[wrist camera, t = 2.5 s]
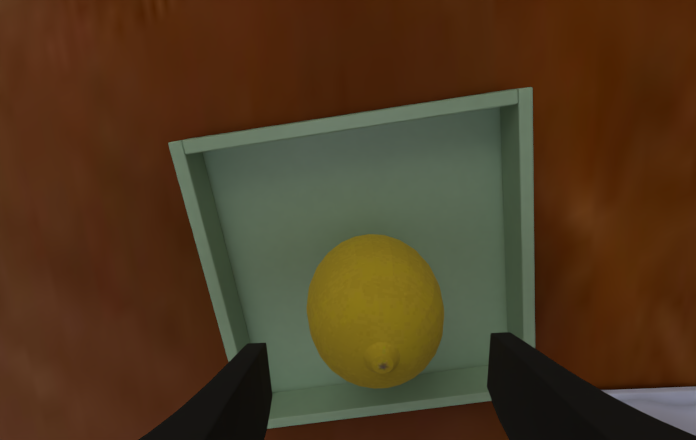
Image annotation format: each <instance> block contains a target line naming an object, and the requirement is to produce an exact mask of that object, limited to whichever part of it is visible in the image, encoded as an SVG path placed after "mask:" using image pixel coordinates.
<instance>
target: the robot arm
mask: <svg viewBox="0 0 696 440" xmlns="http://www.w3.org/2000/svg"><path fill="white" fill-rule="evenodd" d="M487 389H488V391H489V394H490V397H491V400H492V403H493V405H494V408H495V411H496V413H497V416H498V418H499V420H500V422H501V424H502V426H503V428H504V430H505V432H506V434H507V436H508V438H509V440H696V386H694V387H669V388H643V389H618V390H600V389H598V388H596V387H595V386H593V385H591V384H590V383H588V382H586V381H584V380H583V379H581V378H579V377H578V376H576V375H575V374H573V373H571V372H570V371H568V370H567V369H565V368H564V367H562V366H560V365H559V364H557V363H556V362H554V361H553V360H551V359H550V358H548V357H547V356H545V355H544V354H542V353H541V352H539V351H538V350H536V349H535V348H533V347H532V346H531V345H529V344H528V343H526V342H525V341H523V340H522V339H520V338H518V337H517V336H515V335H514V334H512V333H510V332H504V333H491V335H490V349H489V363H488V377H487ZM272 396H273V395H272V387H271V379H270V370H269V362H268V354H267V345H266V343H247V344H246V345H245V346H244V347H243V348H242V349H241V350H240V351H239V352H238V353H237V354H236V355H235V356H234V357H233V358H232V360H231V361H230V362H229V363H228V364H227V365H226V366H225V367H224V368H223V369H222V370H221V371H220V372H219V373H218V374H217V375H216V376H215V377H214V378H213V379H212V380H211V381H210V382H209V383H208V384H207V385H206V386H205V387H203V388H202V389H201V390H200V391H199V392H198V393H197V394H196V395H195V396H193V397H192V398H191V399H190V400H189V401H188V402H187V403H186V404H185V405H184V406H182V407H181V408H180V409H179V410H178V411H176V412H175V413H174V414H173V415H171V416H170V417H169V418H168V419H166V420H165V421H164V422H162V423H161V424H160V425H158V426H157V427H156V428H154V429H153V430H152V431H150V432H149V433H148V434H146V435H145V436H143V437H142V438H140V439H139V440H264V437H265V434H266V430H267V426H268V421H269V415H270V409H271V402H272Z"/></svg>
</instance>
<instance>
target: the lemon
mask: <svg viewBox="0 0 696 440" xmlns="http://www.w3.org/2000/svg"><path fill="white" fill-rule="evenodd" d="M307 317H308V323H309V329H310V334H311V337H312V340H313V342H314V344H315V346H316V348H317V351H318V353H319V355H320V357H321V358H322V359H323V361H324V362H325V363H326V364H327V365H328V367H329V368H330V369H331V370H332V371H333V372H334V373H336V374H337V375H339V376H340V377H342V378H343V379H344V380H346V381H348V382H350V383H353V384H355V385H358V386H361V387H367V388H373V389H378V388H390V387H393V386H397V385H401V384H403V383H405V382H407V381H409V380H411V379H413V378H415V377H416V376H417V375H418V374H419V373H420V372H422V371H423V370H424V369H425V368H426V366H427V365H428V364H429V362H430V361H431V360H432V358H433V357H434V356H435V354H436V352H437V349H438V347H439V344H440V341H441V338H442V334H443V324H444V306H443V301H442V295H441V290H440V286H439V284H438V281H437V279H436V277H435V275H434V274H433V272H432V270H431V268H430V266H429V264H428V263H427V262H426V261H425V260H424V259H423V258H422V257H421V256H420V254H419V253H418V252H417V251H416V250H415V249H413V248H412V247H410V246H409V245H407V244H405V243H404V242H402V241H401V240H398V239H395V238H392V237H389V236H386V235H378V234H366V235H361V236H355V237H353V238H350V239H348V240H346V241H343V242H341V243H340V244H339V245H337V246H336V247H335V248H333V249H332V250H331V251H329V252H328V253H327V255H326V256H325V257H324V259H323V260H322V261H321V262H320V264H319V265H318V267H317V269H316V271H315V273H314V276H313V278H312V280H311V283H310V286H309V291H308V299H307Z"/></svg>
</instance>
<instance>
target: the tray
mask: <svg viewBox="0 0 696 440" xmlns="http://www.w3.org/2000/svg"><path fill="white" fill-rule="evenodd" d="M168 145H169V148H170V152H171V156H172V159H173V163H174V167H175V170H176V174H177V177H178V181H179V185H180V188H181V192H182V195H183V199H184V203H185V206H186V210H187V214H188V217H189V221H190V224H191V228H192V232H193V235H194V239H195V243H196V246H197V250H198V253H199V257H200V261H201V264H202V268H203V271H204V275H205V279H206V282H207V286H208V290H209V293H210V297H211V300H212V304H213V308H214V311H215V315H216V318H217V322H218V326H219V329H220V333H221V337H222V340H223V344H224V347H225V351H226V355H227V358H228V362H230V361H231V360H232V358H233V357H234V356H235V355H236V354H237V353H238V352H239V351H240V350H241V349H242V348H243V347H244V346H245V345H246V344H247V343H266V345H267V354H268V362H269V370H270V379H271V387H272V395H273V396H272V402H271V409H270V415H269V421H268V426H267V429H269V428H277V427H285V426H293V425H301V424H309V423H317V422H325V421H333V420H341V419H349V418H357V417H365V416H373V415H381V414H389V413H397V412H405V411H413V410H421V409H429V408H437V407H445V406H453V405H461V404H469V403H477V402H485V401H492V400H491V397H490V394H489V391H488V389H487V377H488V363H489V349H490V335H491V333H504V332H510V333H512V334H514V335H515V336H517V337H518V338H520V339H522V340H523V341H525V342H526V343H528V344H529V345H531V346H532V347H533V348H535V281H534V184H533V89H532V87H526V88H518V89H510V90H503V91H496V92H490V93H483V94H477V95H470V96H464V97H457V98H451V99H444V100H438V101H431V102H425V103H418V104H412V105H405V106H398V107H392V108H385V109H379V110H372V111H366V112H359V113H353V114H346V115H340V116H333V117H327V118H320V119H314V120H307V121H301V122H294V123H288V124H281V125H275V126H268V127H262V128H255V129H249V130H242V131H235V132H229V133H222V134H216V135H209V136H203V137H196V138H190V139H185V140H179V141H174V142H169V143H168ZM366 234H378V235H386V236H389V237H392V238H395V239H398V240H401V241H402V242H404V243H405V244H407V245H409V246H410V247H412V248H413V249H415V250H416V251H417V252H418V253H419V254H420V256H421V257H422V258H423V259H424V260H425V261H426V262H427V263H428V264H429V266H430V268H431V270H432V272H433V274H434V275H435V277H436V279H437V281H438V284H439V286H440V290H441V295H442V301H443V306H444V324H443V334H442V338H441V341H440V344H439V347H438V349H437V352H436V354H435V356H434V357H433V358H432V360H431V361H430V362H429V364H428V365H427V366H426V368H425V369H424V370H423V371H422V372H420V373H419V374H418V375H417V376H416V377H415V378H413V379H411V380H409V381H407V382H405V383H403V384H401V385H397V386H393V387H390V388H378V389H373V388H367V387H361V386H358V385H355V384H353V383H350V382H348V381H346V380H344V379H343V378H342V377H340V376H339V375H337V374H336V373H334V372H333V371H332V370H331V369H330V368H329V367H328V365H327V364H326V363H325V362H324V361H323V359H322V358H321V357H320V355H319V353H318V351H317V348H316V346H315V344H314V342H313V340H312V337H311V334H310V329H309V323H308V317H307V299H308V291H309V286H310V283H311V280H312V278H313V276H314V273H315V271H316V269H317V267H318V265H319V264H320V262H321V261H322V260H323V259H324V257H325V256H326V255H327V253H328V252H329V251H331V250H332V249H333V248H335V247H336V246H337V245H339V244H340V243H341V242H343V241H346V240H348V239H350V238H353V237H355V236H361V235H366Z"/></svg>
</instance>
